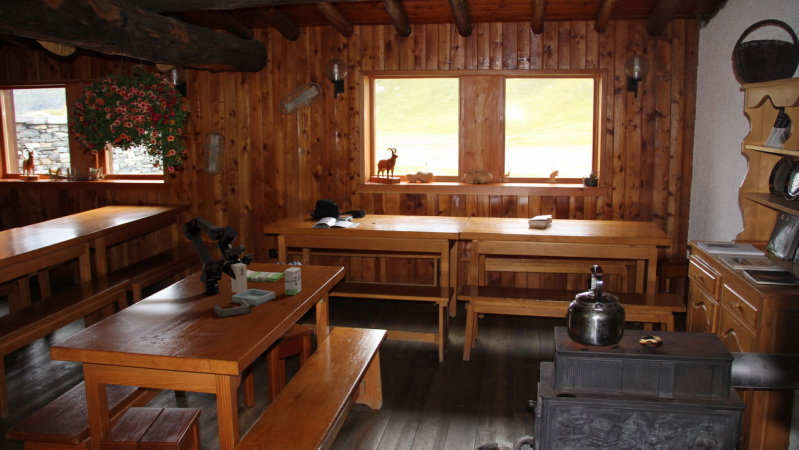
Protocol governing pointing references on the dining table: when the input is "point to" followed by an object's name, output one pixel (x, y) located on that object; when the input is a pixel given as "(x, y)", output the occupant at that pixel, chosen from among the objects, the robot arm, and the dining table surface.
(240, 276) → the tall beige block
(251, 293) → the tray
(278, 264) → the dining table surface
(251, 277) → the dish towel
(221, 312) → the bay
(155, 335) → the dining table surface
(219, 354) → the dining table surface
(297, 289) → the ink box
